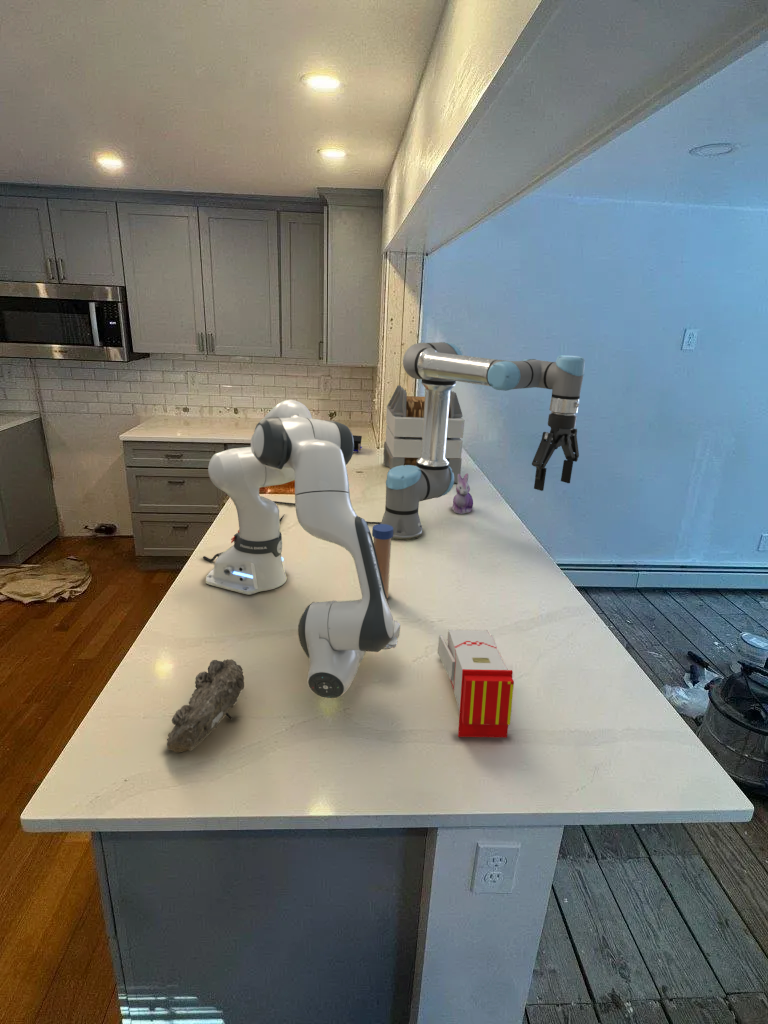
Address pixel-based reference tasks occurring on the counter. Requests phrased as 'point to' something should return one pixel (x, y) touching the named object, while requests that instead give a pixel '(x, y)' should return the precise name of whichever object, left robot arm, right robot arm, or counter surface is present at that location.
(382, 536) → the lid
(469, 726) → the toy
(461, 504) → the figurine
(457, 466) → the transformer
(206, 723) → the fossil
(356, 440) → the figurine character
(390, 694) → the counter surface
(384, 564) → the jar
